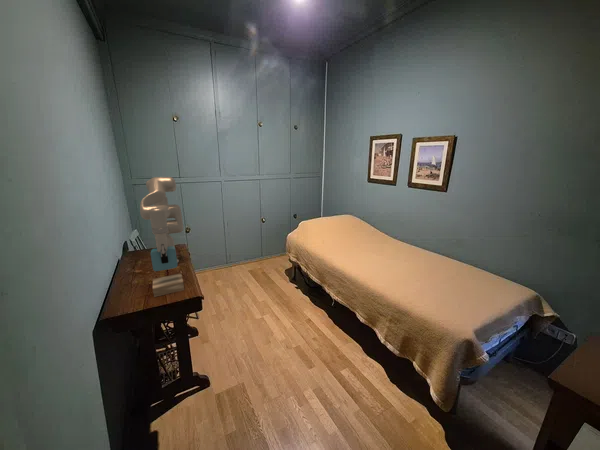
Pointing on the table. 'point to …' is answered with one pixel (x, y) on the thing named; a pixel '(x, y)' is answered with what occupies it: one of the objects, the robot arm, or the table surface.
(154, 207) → the robot arm
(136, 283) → the table surface
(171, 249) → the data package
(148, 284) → the table surface
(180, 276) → the birch riser block
